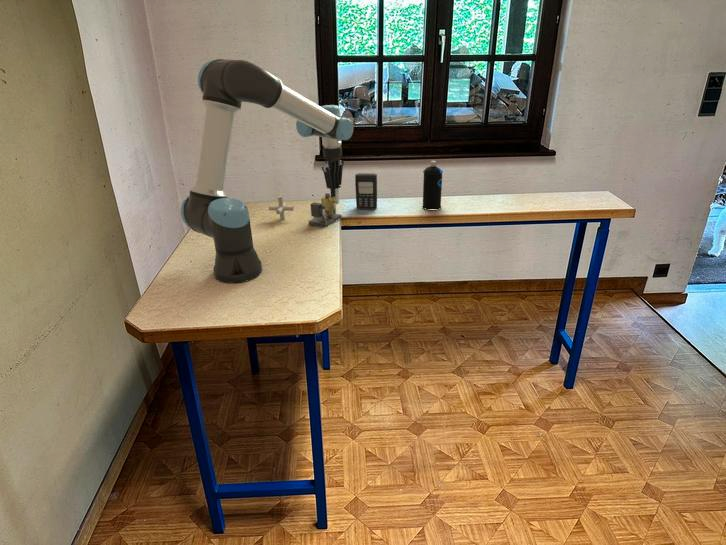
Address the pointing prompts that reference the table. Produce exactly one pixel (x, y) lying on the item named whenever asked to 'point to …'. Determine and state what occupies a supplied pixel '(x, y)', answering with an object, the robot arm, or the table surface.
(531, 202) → the table surface
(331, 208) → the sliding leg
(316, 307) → the table surface
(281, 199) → the pipe connector
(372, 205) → the card reader
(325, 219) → the bolt plate
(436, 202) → the aerosol can
